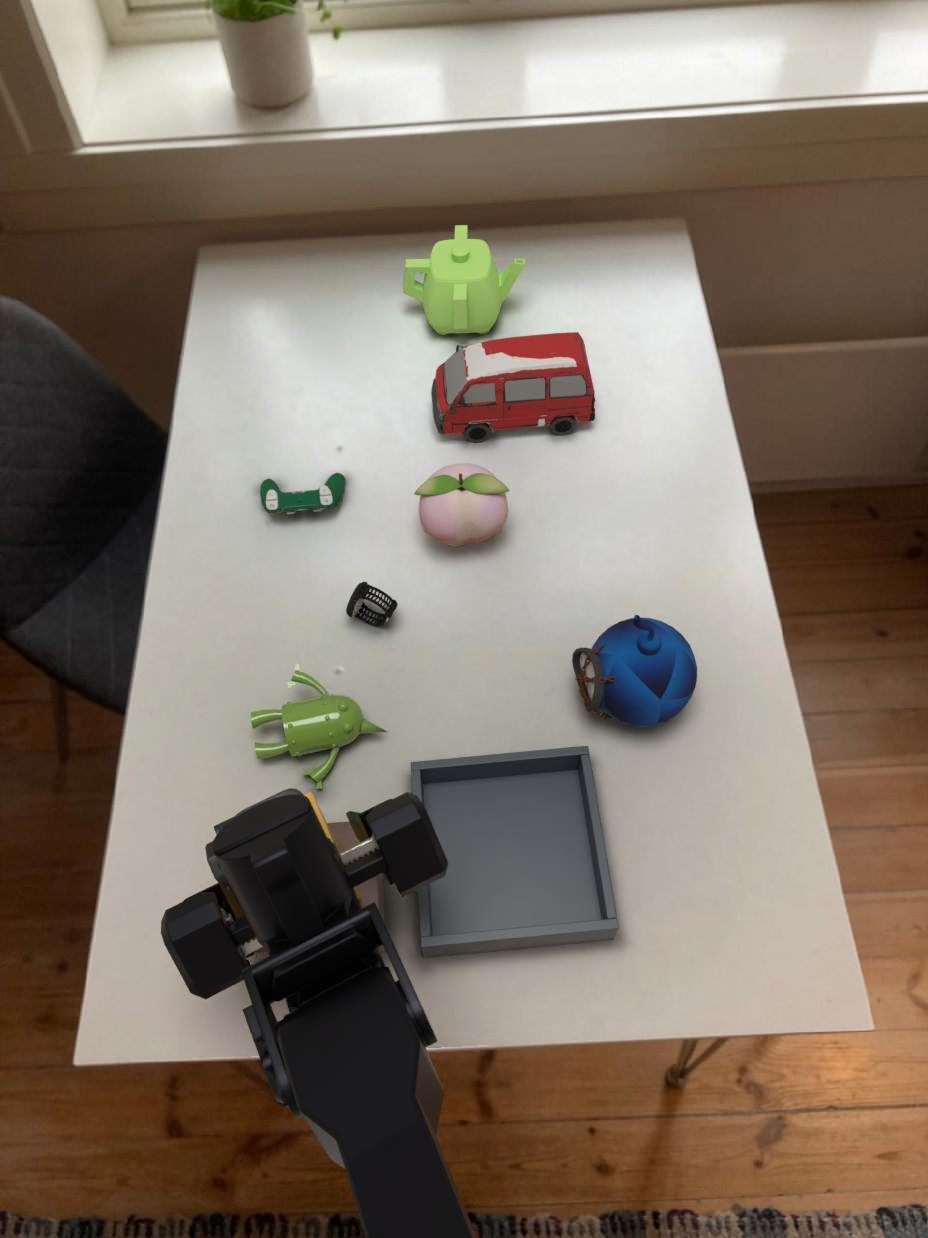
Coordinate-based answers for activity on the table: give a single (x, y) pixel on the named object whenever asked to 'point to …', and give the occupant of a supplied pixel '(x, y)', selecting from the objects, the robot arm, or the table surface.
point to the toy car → (514, 386)
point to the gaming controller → (302, 496)
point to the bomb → (637, 672)
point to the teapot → (460, 284)
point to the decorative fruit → (462, 504)
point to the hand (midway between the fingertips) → (294, 844)
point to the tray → (514, 853)
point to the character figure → (314, 725)
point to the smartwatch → (358, 602)
